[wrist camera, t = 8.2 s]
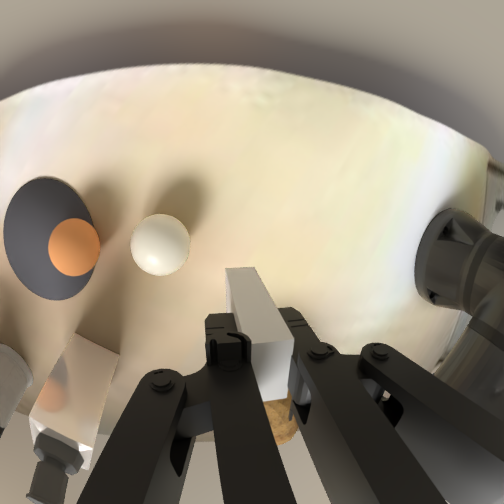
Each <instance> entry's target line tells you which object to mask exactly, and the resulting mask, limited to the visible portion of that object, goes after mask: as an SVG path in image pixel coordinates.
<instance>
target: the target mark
mask: <svg viewBox="0 0 504 504" xmlns="http://www.w3.org/2000/svg"><path fill="white" fill-rule="evenodd" d="M72 218H77V219H82V220H84V221H86V222H88V223H89V224H90V225H91V226H92V227H93V223H92V220H91V217H90V215H89V212H88V211H87V209H86V207H85V205H84V203H83V202H82V200H81V199H80V198H79V197H78V195H77V194H76V193H75V192H74V191H73V190H72V189H71V188H69V187H68V186H67V185H65V184H64V183H61V182H59V181H57V180H53V179H46V178H44V179H37V180H33V181H31V182H29V183H27V184H25V185H24V186H23V187H21V188H20V189H19V190H18V191H17V193H16V194H15V195H14V197H13V198H12V200H11V202H10V204H9V206H8V209H7V212H6V215H5V220H4V230H3V233H4V245H5V250H6V254H7V257H8V260H9V262H10V265H11V267H12V269H13V271H14V272H15V274H16V275H17V277H18V278H19V280H20V281H21V282H22V283H23V284H24V285H25V286H26V287H27V288H28V289H29V290H30V291H32V292H33V293H35V294H36V295H38V296H40V297H43V298H46V299H49V300H64V299H68V298H70V297H73V296H74V295H76V294H77V293H79V292H80V291H81V290H82V289H83V288H84V286H85V285H86V284H87V282H88V281H89V279H90V277H91V275H92V272H93V269H94V266H93V268H92V269H91V270H90V271H88V272H87V273H85V274H83V275H79V276H69V275H65V274H63V273H61V272H60V271H59V270H58V269H57V268H56V267H55V266H54V265H53V263H52V261H51V259H50V256H49V251H48V244H49V239H50V236H51V234H52V232H53V230H54V229H55V227H56V226H57V225H58V224H60V223H61V222H63V221H65V220H67V219H72ZM93 228H94V227H93Z"/></svg>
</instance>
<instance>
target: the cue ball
mask: <svg viewBox="0 0 504 504" xmlns="http://www.w3.org/2000/svg"><path fill="white" fill-rule="evenodd" d="M130 248H131V253H132V256H133V259H134V261H135V262H136V264H137V265H138V266H139V267H140V268H141V269H142V270H144V271H145V272H147V273H149V274H152V275H158V276H163V275H168V274H171V273H173V272H175V271H177V270H178V269H179V268H180V267H181V266H182V265H183V264H184V263H185V261H186V260H187V258H188V255H189V252H190V237H189V234H188V232H187V230H186V228H185V226H184V225H183V224H182V223H181V222H180V221H179V220H178V219H176V218H175V217H173V216H170V215H166V214H154V215H151V216H148V217H146V218H145V219H143V220H142V221H141V222H140V223H139V224H138V225H137V226H136V227H135V229H134V231H133V233H132V236H131V242H130Z"/></svg>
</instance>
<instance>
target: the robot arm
mask: <svg viewBox="0 0 504 504" xmlns="http://www.w3.org/2000/svg"><path fill="white" fill-rule="evenodd" d="M225 273H226V313H218V314H209V315H208V317H207V318H206V320H205V334H206V343H205V348H206V359H207V362H206V364H205V366H204V367H203V368H202V369H201V370H199V371H198V372H196V373H193V374H190V375H187V376H182V375H181V374H180V373H178V372H177V371H174V370H171V369H157V370H153V371H151V372H149V373H147V374H145V376H144V377H143V378H142V379H141V381H140V382H139V384H138V386H137V388H136V389H135V391H134V393H133V395H132V397H131V399H130V400H129V402H128V404H127V406H126V408H125V409H124V411H123V413H122V415H121V417H120V419H119V421H118V422H117V424H116V426H115V428H114V430H113V432H112V434H111V436H110V438H109V439H108V441H107V443H106V445H105V447H104V449H103V451H102V453H101V455H100V457H99V459H98V461H97V463H96V465H95V467H94V469H93V471H92V473H91V475H90V477H89V479H88V481H87V483H86V485H85V487H84V489H83V491H82V493H81V495H80V497H79V499H78V501H77V504H179V501H180V497H181V493H182V489H183V485H184V481H185V477H186V474H187V470H188V466H189V462H190V458H191V455H192V451H193V447H194V443H195V439H196V436H197V435H200V434H203V433H206V432H209V431H212V430H214V438H215V446H216V454H217V461H218V468H219V475H220V482H221V488H222V494H223V500H224V504H297V503H296V500H295V497H294V494H293V491H292V488H291V486H290V483H289V480H288V477H287V474H286V471H285V468H284V465H283V462H282V460H281V456H280V453H279V450H278V447H277V444H276V441H275V438H274V435H273V432H272V429H271V426H270V423H269V419H268V416H267V413H266V410H265V407H264V403H263V401H271V400H277V399H284V398H287V392H288V389H289V391H290V393H291V396H292V399H291V404H290V410H289V416H288V417H289V421H292V417H293V414H294V417H295V419H296V422H297V424H298V427H299V429H300V431H301V434H302V436H303V439H304V441H305V443H306V446H307V448H308V451H309V453H310V456H311V458H312V460H313V462H314V465H315V467H316V470H317V472H318V475H319V477H320V479H321V482H322V484H323V486H324V488H325V491H326V493H327V495H328V498H329V500H330V502H331V504H448V503H447V502H446V501H448V502H449V503H450V504H504V237H502V236H499V235H496V234H493V233H492V232H490V231H489V230H488V229H487V228H486V227H485V226H483V225H482V224H481V223H480V222H478V221H477V220H476V219H475V218H474V217H472V216H471V215H470V214H468V213H466V212H464V211H461V210H457V209H447V210H444V211H442V212H441V213H440V214H438V215H437V216H436V217H435V218H434V219H433V221H432V222H431V223H430V225H429V226H428V228H427V230H426V231H425V233H424V235H423V238H422V240H421V243H420V245H419V249H418V252H417V256H416V262H415V284H416V288H417V291H418V293H419V294H420V296H421V297H422V298H423V299H425V300H426V301H428V302H429V303H431V304H433V305H435V306H439V307H445V308H450V309H456V310H462V311H465V312H466V313H468V314H470V315H471V316H473V317H472V319H471V320H470V322H469V324H468V325H467V327H466V328H465V330H464V332H463V333H462V335H461V336H460V338H459V339H458V341H457V343H456V344H455V346H454V347H453V348H452V350H451V351H450V353H449V354H448V356H447V357H446V358H445V360H444V361H443V363H442V364H441V365H440V367H439V368H438V369H437V371H436V372H435V373H433V374H431V373H429V372H428V371H426V370H425V369H423V368H422V367H420V366H419V365H418V364H416V363H415V362H413V361H412V360H410V359H409V358H407V357H406V356H404V355H403V354H401V353H400V352H398V351H397V350H395V349H394V348H392V347H390V346H388V345H386V344H382V343H370V344H367V345H365V346H364V347H363V348H362V351H361V354H360V355H344V354H340V353H339V352H338V350H337V349H336V348H335V347H333V346H332V345H330V344H328V343H324V342H320V340H319V339H318V338H317V336H316V335H315V333H314V332H313V330H312V329H311V327H310V326H308V323H307V322H306V320H305V319H304V317H303V316H302V314H301V313H300V312H299V311H297V310H295V309H294V308H292V307H288V308H277V307H276V305H275V303H274V302H273V300H272V298H271V296H270V294H269V293H268V291H267V289H266V287H265V285H264V284H263V282H262V280H261V278H260V276H259V275H258V273H257V271H256V269H255V267H244V268H225ZM385 390H386V391H387V392H388V393H390V394H391V395H390V397H389V399H388V398H385V397H383V394H384V391H385ZM445 500H446V501H445Z"/></svg>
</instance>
